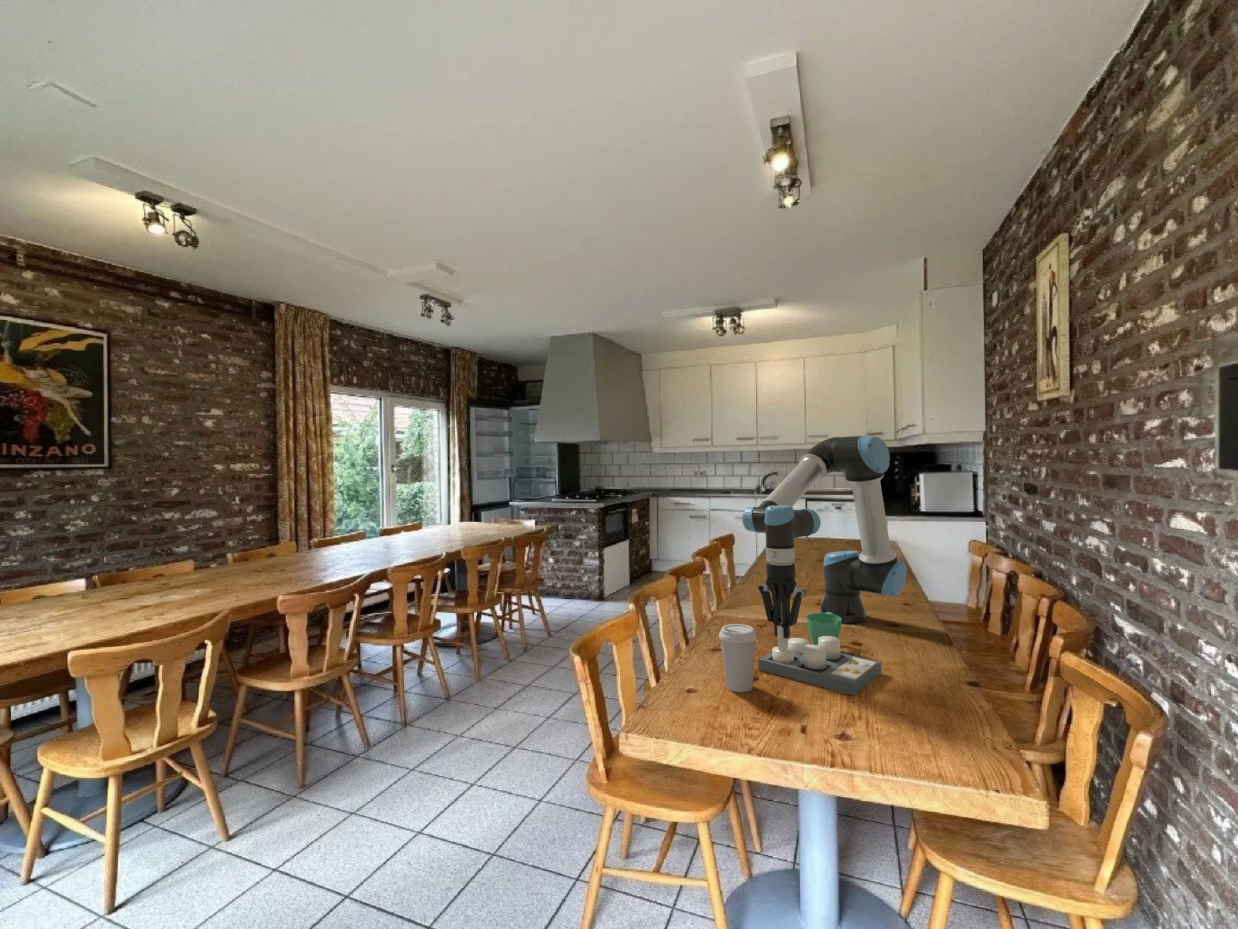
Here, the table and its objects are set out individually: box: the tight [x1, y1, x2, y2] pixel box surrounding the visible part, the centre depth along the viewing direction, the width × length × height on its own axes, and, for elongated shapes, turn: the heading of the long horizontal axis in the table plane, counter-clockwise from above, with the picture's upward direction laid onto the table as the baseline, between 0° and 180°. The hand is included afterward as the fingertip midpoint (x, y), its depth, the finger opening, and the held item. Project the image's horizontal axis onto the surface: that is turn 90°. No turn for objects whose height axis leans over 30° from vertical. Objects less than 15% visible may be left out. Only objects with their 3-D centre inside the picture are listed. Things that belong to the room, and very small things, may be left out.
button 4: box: [818, 636, 841, 659], centre depth 156 cm, size 6×6×4 cm
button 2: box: [787, 637, 810, 655], centre depth 162 cm, size 6×6×4 cm
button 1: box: [771, 645, 794, 665], centre depth 156 cm, size 6×6×4 cm
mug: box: [805, 612, 842, 645], centre depth 171 cm, size 15×10×10 cm
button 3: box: [803, 644, 826, 669], centre depth 149 cm, size 6×6×4 cm
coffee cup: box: [718, 623, 758, 694], centre depth 145 cm, size 10×10×15 cm
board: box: [758, 651, 882, 697], centre depth 153 cm, size 18×26×4 cm
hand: (782, 648), depth 156 cm, fingers closed
